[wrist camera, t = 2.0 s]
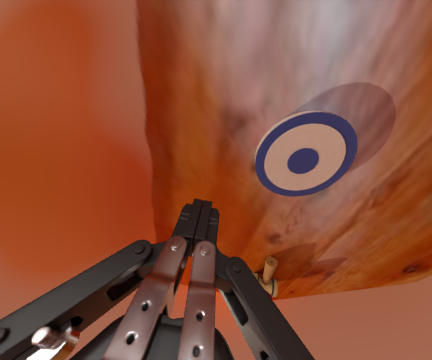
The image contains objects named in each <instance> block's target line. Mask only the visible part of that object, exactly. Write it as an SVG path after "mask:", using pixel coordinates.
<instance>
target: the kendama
mask: <svg viewBox="0 0 432 360" xmlns="http://www.w3.org/2000/svg"><path fill="white" fill-rule="evenodd" d="M277 265H278V262H277V260H276V259H275V258H274V257H271V256H268V257H267V258H266V261H265V268H264V273H263V279H261V278H260V277H259V276H258V274H257V273H253V274H254V276H255V277H256V278H257V280H258V281H259V283H260V284H261V285H262V287H263V288H264V290H265V291H266V292H267V294H268V295H269V296H270V298H271V299H272V297H276V296H277V293H278V282H277V280H276V279H271V277H272V275H273V273H274V271H275V269H276V267H277ZM270 279H271V280H270Z"/></svg>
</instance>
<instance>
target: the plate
mask: <svg viewBox="0 0 432 360" xmlns="http://www.w3.org/2000/svg"><path fill="white" fill-rule="evenodd" d="M356 152H357V137H356V134H355V131H354V129H353V128H352V126H351V125H350V124H349V123H348V122H347V121H346V120H344V119H343V118H341V117H339V116H337V115H335V114H332V113H330V112H326V111H319V110H310V111H303V112H299V113H296V114H293V115H290V116H288V117H286V118H284V119H282V120H281V121H279V122H278V123H276V124H275V125H274V126H273V127H272V128H270V129H269V130H268V132H267V133H266V134H265V135H264V136H263V138H262V139H261V141H260V143H259V145H258V147H257V150H256V153H255V169H256V173H257V176H258V178H259V180H260V182H261V183H262V184H263V185H264V186H265V187H266V188H267V189H269V190H270V191H272V192H274V193H277V194H280V195H284V196H304V195H309V194H313V193H316V192H319V191H321V190H323V189H325V188H327V187H329V186H330V185H332V184H333V183H335V182H336V181H337V180H339V179H340V178H341V177H342V176H343V175H344V174H345V173H346V171H347V170H348V169H349V167H350V166H351V164H352V162H353V160H354V158H355V155H356Z"/></svg>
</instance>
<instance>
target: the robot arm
mask: <svg viewBox="0 0 432 360" xmlns="http://www.w3.org/2000/svg"><path fill="white" fill-rule="evenodd" d="M211 207H212V202H211V201H206V200H204V202H203V200H200V199H194V202H193V205H191V204H186V205H185V206H184V207H183V209H182V211H181V214H180V216H179V219H178V221H177V224H176V226H175V229H174V231H173V234H172V236H171V237H170V238H169V239H168V240H167V241H165V242H162V243H157V244H150V242H149V241H147V240H138V241H135V242H134V243H132V244H130V245H128V246H127V247H125V248H123V249H122V250H120V251H118V252H116V253H115V254H113V255H111V256H109V257H108V258H106V259H104V260H103V261H101V262H99V263H97V264H96V265H94V266H92V267H90V268H89V269H87V270H85V271H83V272H82V273H80V274H78V275H77V276H75V277H73V278H71V279H70V280H68V281H67V282H64V283H63V284H61V285H59V286H58V287H56V288H54V289H52V290H51V291H49V292H47V293H45V294H44V295H42V296H40V297H39V298H37V299H35V300H33V301H32V302H30V303H28V304H26V305H25V306H23V307H21V308H20V309H18V310H16V311H14V312H13V313H11V314H9V315H8V316H6V317H4V318H2V319H1V320H0V360H64V359H65V358H66V357H67V356H68V355H69V354H70V353H71V352H72V351H73V349H74V348H75V346H76V344H77V342H78V340H79V336H80V332H82V331H83V330H84V329H85V328H87V327H88V326H89V325H91V324H92V323H93V322H95V321H96V320H97V319H98V318H100V317H101V316H102V315H104V314H105V313H106V312H107V311H109V310H110V309H111V308H113V306H115V305H116V304H118V303H119V302H120V301H122V300H123V299H124V298H126V297H127V296H128V295H129V294H131V293H132V292H133V291H135V290H136V289H137V288H138V290H137V292H136V294H135V296H134V298H133V300H132V302H131V303H130V305H129V307H128V309H127V311H126V313H125V315H123V316H121V317H119V318H118V319H116V320H115V321H113V322H112V323H111V324H110V325H109V326H107V327H106V328H105V329H104V330H103V331H102V332H101V333H99V335H97V336H96V337H95V338H94V339H93V340H91V341H90V342H89V343H88V344H87V345H86V346H84V347H83V348H82V349H81V350H80V351H79V352H77V353H76V354H75V355H74V356H73V357H72V358H71V359H69V360H234V358H233V355H232V353H231V351H230V348H229V346H228V344H227V342H226V340H225V338H224V337H223V336H222V334H221V333H220V332H219V331H218V330H217V329H216V328H215V299H216V298H215V297H216V288H218V289H219V290H220V293H221V294H222V296H223V298H224V300H225V302H226V304H227V305H228V308H229V309H230V311H231V313H232V315H233V317H234V319H235V321H236V323H237V324H238V327H239V329H240V330H241V332H242V334H243V336H244V338H245V340H246V342H247V344H248V345H249V348H250V349H251V351H252V353H253V355H254V357H255V359H256V360H315V359H314V358H313V356H312V355H311V354H310V352H309V351H308V349H307V348H306V347H305V345H304V344H303V342H302V341H301V340H300V338H299V337H298V336H297V334H296V333H295V331H294V330H293V329H292V327H291V326H290V325H289V323H288V322H287V320H286V319H285V318H284V316H283V315H282V314H281V312H280V310H279V309H278V308H277V306H276V305H275V303H274V302H273V301H272V299H271V298H270V296H269V295H268V294H267V292H266V291H265V290H264V288H263V287H262V285H261V284H260V283H259V281H258V280H257V278H256V277H255V276H254V274H253V273H252V271H251V270H250V269H249V267H248V266H247V264H246V263H245V262H244V261H243V260H242V259H241V258H239V257H231V258H229V257H227V256H225V255H224V254H222V253H221V252H220V251H219V250H218V248H217V245H216V240H217V232H218V223H219V215H220V214H219V212H218V209H214V208H211ZM192 253H193V256H192ZM188 256H190V257H193V263H192V269H191V276H190V282H189V287H188V293H187V300H186V307H185V312H184V318H177V319H171V318H170V315H171V312H172V308H173V304H174V300H175V296H176V294H177V290H178V288H179V285H180V282H181V279H182V276H183V273H184V270H185V266H186V263H187V260H188Z"/></svg>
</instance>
